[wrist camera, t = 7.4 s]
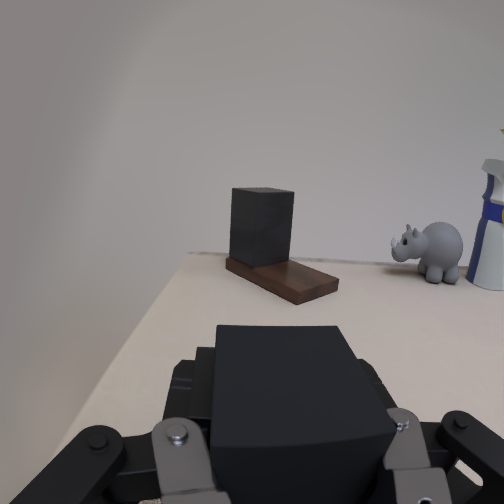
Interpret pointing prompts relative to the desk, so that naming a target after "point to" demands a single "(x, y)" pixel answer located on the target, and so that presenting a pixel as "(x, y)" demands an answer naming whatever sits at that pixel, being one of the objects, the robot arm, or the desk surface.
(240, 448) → the black rectangular block
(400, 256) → the round bodied animal figurine
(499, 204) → the white piece
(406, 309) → the desk surface
